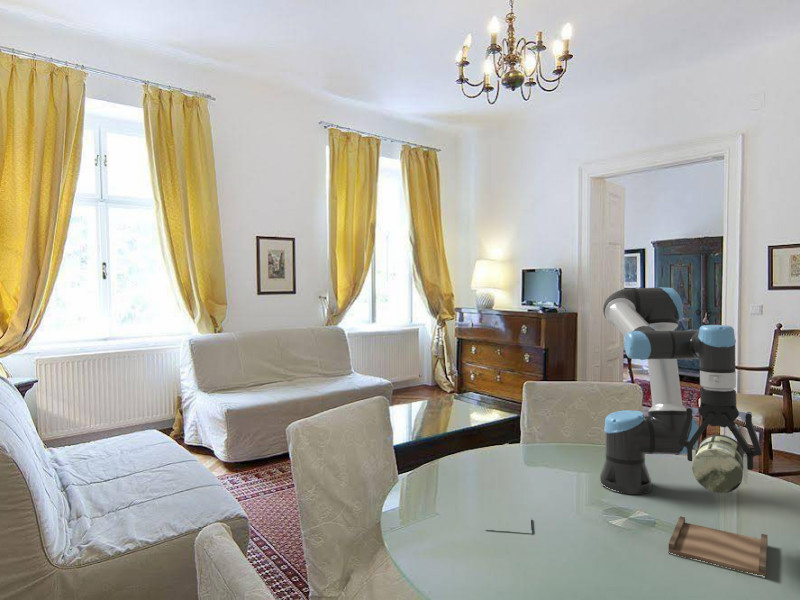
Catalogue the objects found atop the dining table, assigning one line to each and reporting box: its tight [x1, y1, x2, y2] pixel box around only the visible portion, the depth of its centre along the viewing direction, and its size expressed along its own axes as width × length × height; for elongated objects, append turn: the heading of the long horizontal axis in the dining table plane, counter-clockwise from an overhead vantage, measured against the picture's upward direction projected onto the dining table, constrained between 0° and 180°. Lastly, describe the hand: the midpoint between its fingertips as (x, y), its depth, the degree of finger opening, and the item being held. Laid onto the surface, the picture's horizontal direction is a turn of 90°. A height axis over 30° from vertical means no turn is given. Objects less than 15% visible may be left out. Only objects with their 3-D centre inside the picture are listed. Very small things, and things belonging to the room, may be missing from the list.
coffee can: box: [691, 434, 746, 494], centre depth 126 cm, size 10×10×14 cm
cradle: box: [668, 515, 768, 576], centre depth 125 cm, size 17×19×3 cm
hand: (719, 478), depth 127 cm, fingers closed on coffee can, 10 cm apart
